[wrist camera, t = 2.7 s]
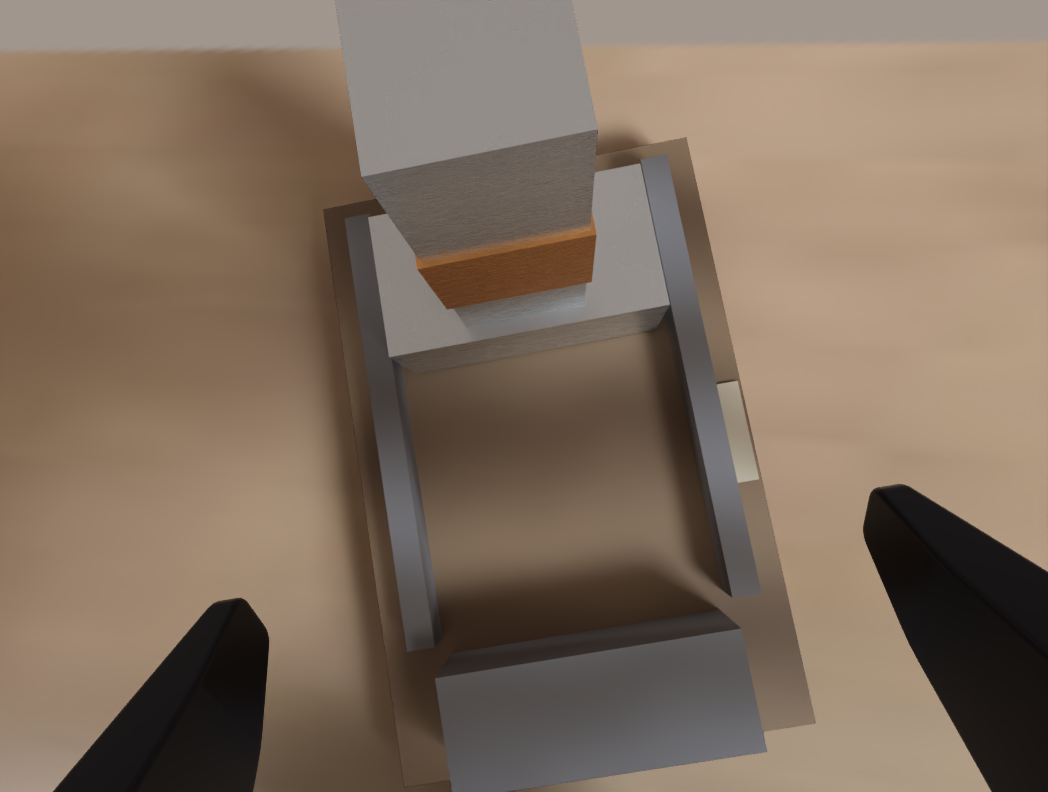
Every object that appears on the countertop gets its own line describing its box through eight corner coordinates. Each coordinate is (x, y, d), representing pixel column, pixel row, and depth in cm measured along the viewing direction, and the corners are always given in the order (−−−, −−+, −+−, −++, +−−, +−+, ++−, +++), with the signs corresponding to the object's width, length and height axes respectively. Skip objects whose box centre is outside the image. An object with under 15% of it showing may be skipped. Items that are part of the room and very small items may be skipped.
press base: (792, 700, 21) (852, 760, 16) (419, 758, 21) (379, 832, 17) (676, 166, 23) (701, 92, 19) (343, 232, 24) (291, 175, 19)
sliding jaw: (655, 330, 20) (772, 123, 9) (415, 374, 21) (207, 236, 9) (630, 208, 21) (708, -146, 9) (396, 253, 21) (176, -29, 9)
